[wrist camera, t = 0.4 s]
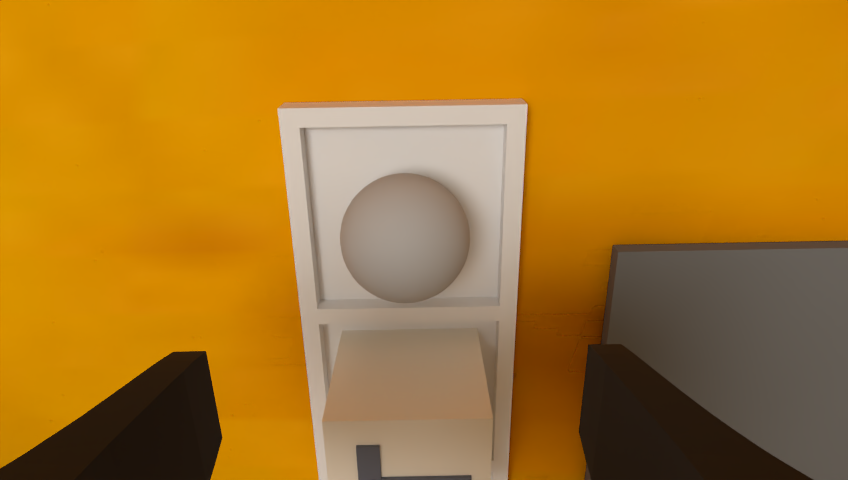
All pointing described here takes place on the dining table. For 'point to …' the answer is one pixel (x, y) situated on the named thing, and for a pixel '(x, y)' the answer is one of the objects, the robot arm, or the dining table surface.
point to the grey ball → (405, 238)
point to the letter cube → (408, 407)
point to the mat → (745, 338)
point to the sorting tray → (428, 156)
